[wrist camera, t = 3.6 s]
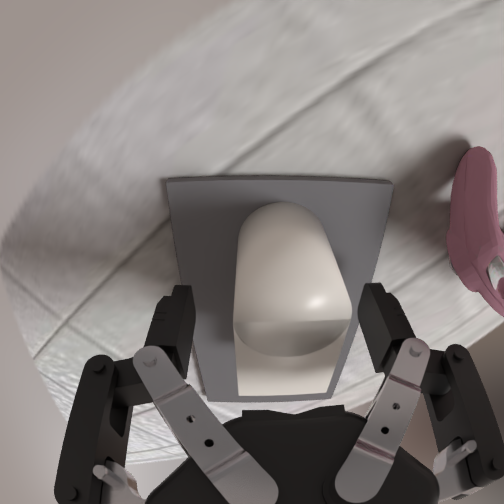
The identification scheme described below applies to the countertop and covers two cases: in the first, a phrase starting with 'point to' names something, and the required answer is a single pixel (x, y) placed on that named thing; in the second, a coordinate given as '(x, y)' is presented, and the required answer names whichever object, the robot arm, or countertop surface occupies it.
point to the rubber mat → (226, 245)
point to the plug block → (287, 303)
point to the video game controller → (477, 228)
